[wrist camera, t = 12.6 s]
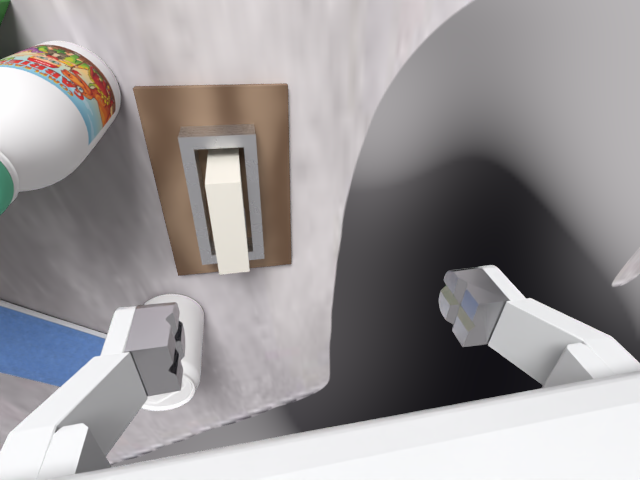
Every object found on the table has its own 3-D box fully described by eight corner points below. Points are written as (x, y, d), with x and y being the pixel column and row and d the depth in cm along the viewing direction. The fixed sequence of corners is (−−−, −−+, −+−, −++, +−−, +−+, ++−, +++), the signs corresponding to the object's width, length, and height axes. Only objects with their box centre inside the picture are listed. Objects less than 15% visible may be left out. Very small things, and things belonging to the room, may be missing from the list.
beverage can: (126, 308, 49) (102, 390, 40) (178, 280, 48) (167, 357, 39) (167, 341, 54) (155, 422, 45) (216, 316, 53) (214, 393, 44)
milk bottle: (127, 133, 37) (54, 257, 21) (36, 126, 35) (-121, 257, 19) (116, 46, 33) (14, 119, 17) (12, 32, 31) (-215, 100, 15)
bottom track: (253, 123, 38) (255, 134, 36) (262, 243, 47) (264, 258, 44) (180, 126, 37) (177, 137, 35) (203, 249, 46) (202, 264, 43)
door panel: (239, 147, 39) (241, 182, 33) (247, 228, 45) (250, 271, 39) (207, 148, 39) (203, 184, 32) (219, 230, 44) (218, 274, 38)
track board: (286, 83, 37) (287, 85, 37) (290, 260, 50) (291, 263, 49) (134, 86, 35) (133, 88, 34) (178, 271, 48) (178, 275, 47)
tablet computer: (-72, 348, 47) (-79, 357, 46) (-39, 282, 43) (-46, 290, 42) (90, 387, 57) (88, 395, 56) (130, 336, 53) (128, 344, 52)
